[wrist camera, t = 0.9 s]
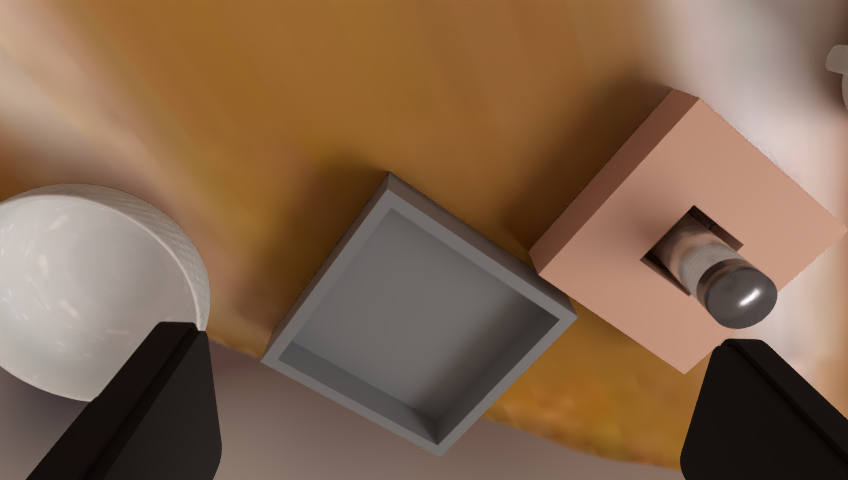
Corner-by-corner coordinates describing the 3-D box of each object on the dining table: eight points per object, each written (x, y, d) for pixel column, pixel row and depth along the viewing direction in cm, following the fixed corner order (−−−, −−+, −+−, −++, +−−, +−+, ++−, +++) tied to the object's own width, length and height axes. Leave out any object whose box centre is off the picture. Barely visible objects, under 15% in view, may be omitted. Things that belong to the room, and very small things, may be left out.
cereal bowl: (190, 376, 49) (156, 434, 42) (-2, 300, 45) (-72, 351, 39) (261, 224, 43) (233, 264, 36) (45, 123, 39) (-28, 148, 33)
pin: (669, 198, 42) (748, 261, 32) (703, 225, 43) (791, 295, 33) (632, 236, 43) (698, 308, 33) (666, 261, 44) (740, 339, 34)
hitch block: (673, 88, 39) (699, 98, 35) (811, 209, 43) (848, 229, 39) (528, 251, 44) (538, 274, 40) (663, 345, 48) (684, 374, 44)
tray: (389, 171, 41) (387, 188, 37) (565, 291, 45) (578, 316, 42) (272, 333, 47) (260, 361, 43) (438, 424, 51) (439, 457, 48)
